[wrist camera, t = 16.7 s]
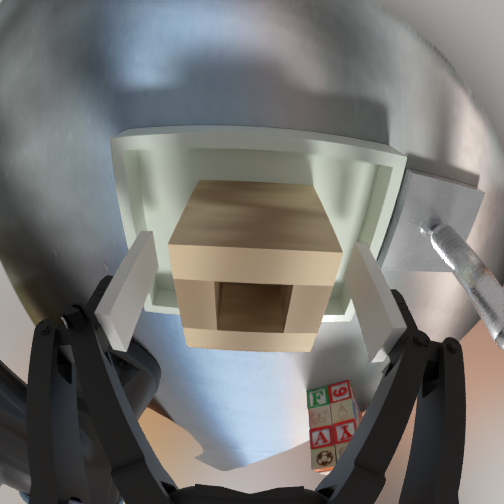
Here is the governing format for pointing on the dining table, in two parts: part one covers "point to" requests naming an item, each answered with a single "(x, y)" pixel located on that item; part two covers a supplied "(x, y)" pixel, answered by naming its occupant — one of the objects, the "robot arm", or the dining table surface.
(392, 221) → the post
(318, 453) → the stack of blocks
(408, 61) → the dining table surface
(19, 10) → the dining table surface
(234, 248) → the oak block
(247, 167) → the tray
